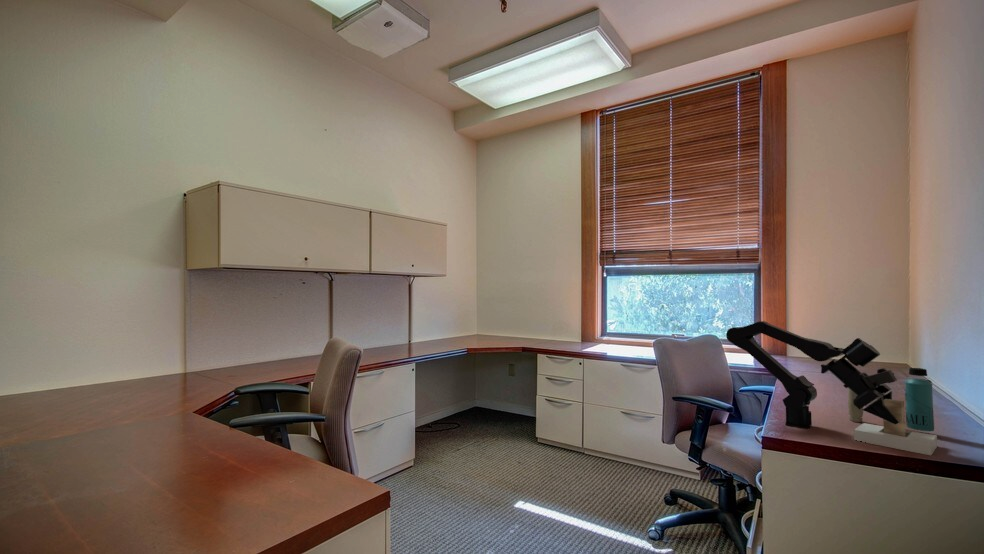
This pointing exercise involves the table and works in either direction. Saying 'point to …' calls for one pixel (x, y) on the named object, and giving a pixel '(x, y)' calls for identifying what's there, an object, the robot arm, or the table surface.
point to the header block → (896, 439)
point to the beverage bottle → (919, 401)
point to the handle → (854, 408)
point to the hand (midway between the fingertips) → (900, 420)
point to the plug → (898, 412)
